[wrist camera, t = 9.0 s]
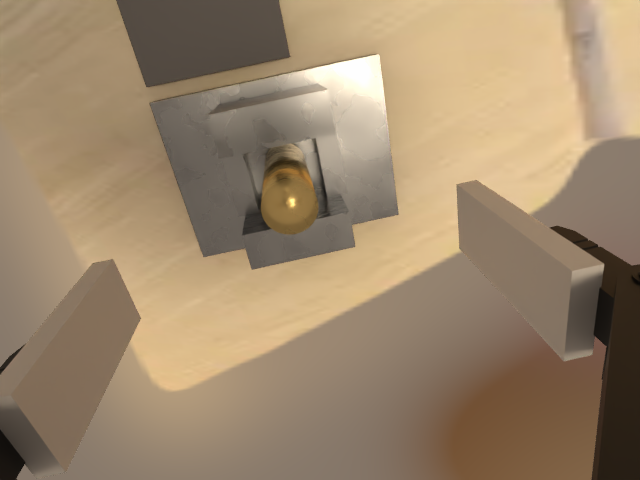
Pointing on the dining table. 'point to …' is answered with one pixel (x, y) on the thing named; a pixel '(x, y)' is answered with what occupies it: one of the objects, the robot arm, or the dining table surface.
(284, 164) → the peg
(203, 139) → the bracket
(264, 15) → the mat
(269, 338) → the dining table surface
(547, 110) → the dining table surface
